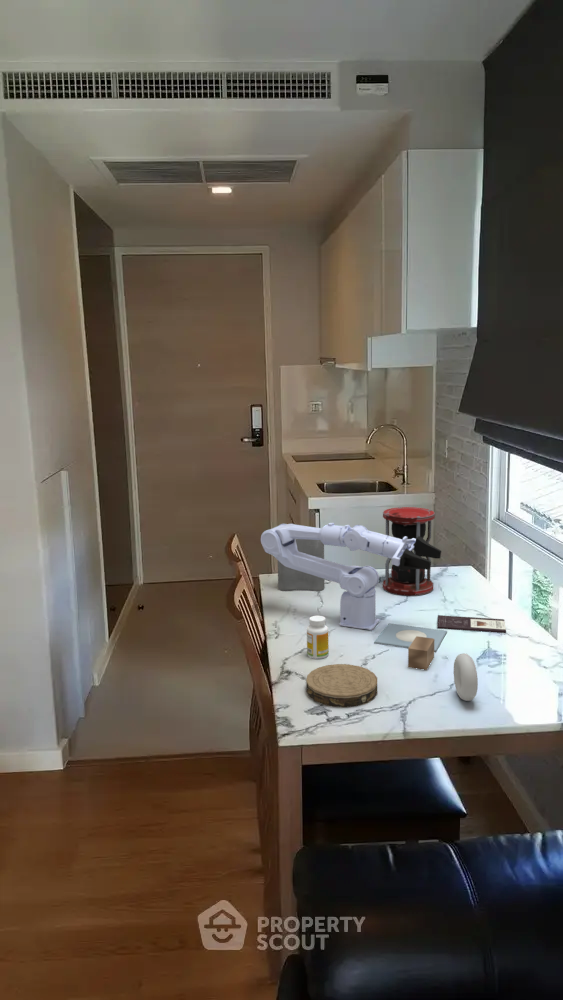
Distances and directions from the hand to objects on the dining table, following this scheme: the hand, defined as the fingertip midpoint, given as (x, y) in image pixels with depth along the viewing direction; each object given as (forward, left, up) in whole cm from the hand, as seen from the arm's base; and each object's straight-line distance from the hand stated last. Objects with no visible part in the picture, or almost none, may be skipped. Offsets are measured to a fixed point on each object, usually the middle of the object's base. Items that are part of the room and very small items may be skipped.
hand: (435, 560), depth 183 cm
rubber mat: (-5, -3, -21) cm, 22 cm away
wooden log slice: (-12, -38, -22) cm, 45 cm away
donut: (+14, -32, -21) cm, 41 cm away
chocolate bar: (+8, +12, -22) cm, 26 cm away
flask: (-48, +25, -21) cm, 59 cm away
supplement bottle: (-24, -22, -21) cm, 39 cm away
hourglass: (-16, +37, -21) cm, 46 cm away
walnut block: (+1, -17, -21) cm, 27 cm away
